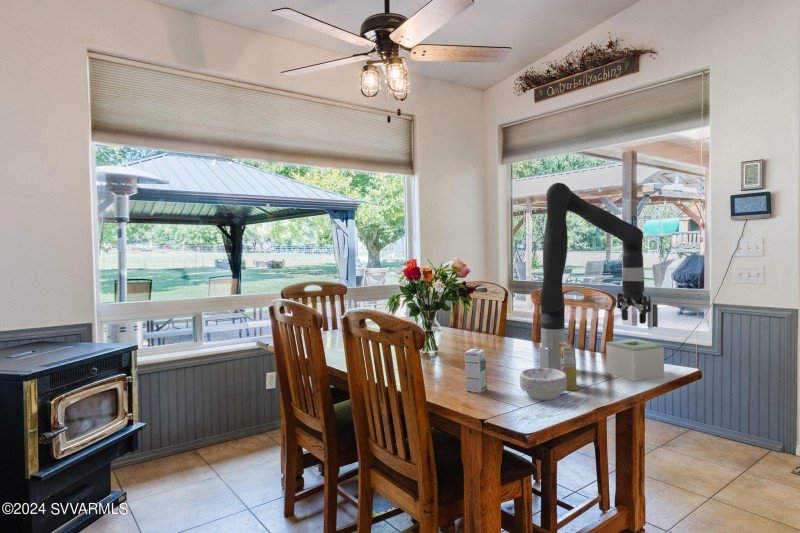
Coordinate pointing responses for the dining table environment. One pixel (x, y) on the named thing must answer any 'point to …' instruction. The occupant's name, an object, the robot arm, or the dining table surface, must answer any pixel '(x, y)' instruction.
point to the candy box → (568, 364)
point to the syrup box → (475, 370)
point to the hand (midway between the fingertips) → (633, 321)
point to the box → (635, 359)
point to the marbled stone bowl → (543, 383)
